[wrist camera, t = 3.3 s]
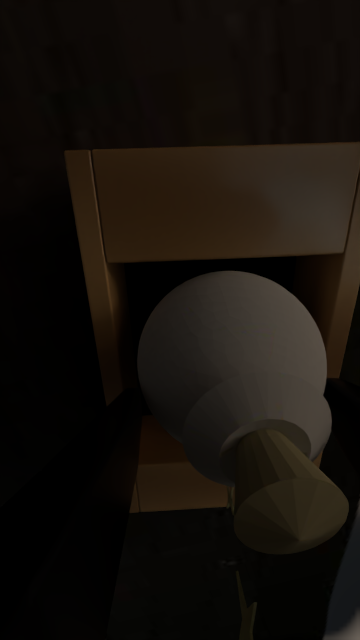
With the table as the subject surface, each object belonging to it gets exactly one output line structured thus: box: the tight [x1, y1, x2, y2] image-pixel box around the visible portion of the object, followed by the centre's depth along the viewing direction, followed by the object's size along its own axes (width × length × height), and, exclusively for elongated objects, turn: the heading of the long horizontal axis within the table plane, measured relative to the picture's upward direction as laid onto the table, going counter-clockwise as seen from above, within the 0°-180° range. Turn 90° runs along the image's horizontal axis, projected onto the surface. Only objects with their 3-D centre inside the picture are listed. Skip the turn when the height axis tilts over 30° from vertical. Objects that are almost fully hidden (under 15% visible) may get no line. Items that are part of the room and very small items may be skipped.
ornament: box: [137, 271, 349, 640], centre depth 7 cm, size 6×7×10 cm
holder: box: [64, 142, 360, 513], centre depth 10 cm, size 14×9×3 cm, turn 2°
